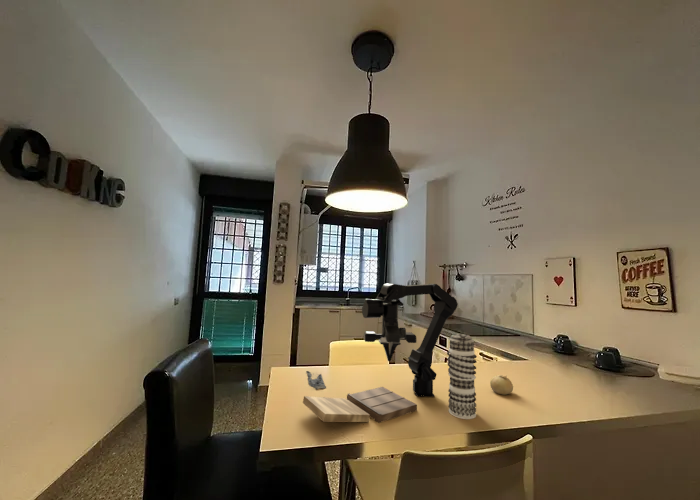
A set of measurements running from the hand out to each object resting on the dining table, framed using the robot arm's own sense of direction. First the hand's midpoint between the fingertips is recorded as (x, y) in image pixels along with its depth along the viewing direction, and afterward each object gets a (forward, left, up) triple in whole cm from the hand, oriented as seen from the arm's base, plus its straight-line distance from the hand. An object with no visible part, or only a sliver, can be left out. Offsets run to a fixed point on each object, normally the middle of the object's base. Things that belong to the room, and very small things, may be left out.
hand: (389, 361), depth 109 cm
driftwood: (+27, -18, -14) cm, 35 cm away
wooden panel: (+4, +6, -13) cm, 15 cm away
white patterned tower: (-22, +12, -13) cm, 28 cm away
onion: (-45, -5, -13) cm, 47 cm away
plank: (+13, +11, -13) cm, 22 cm away
